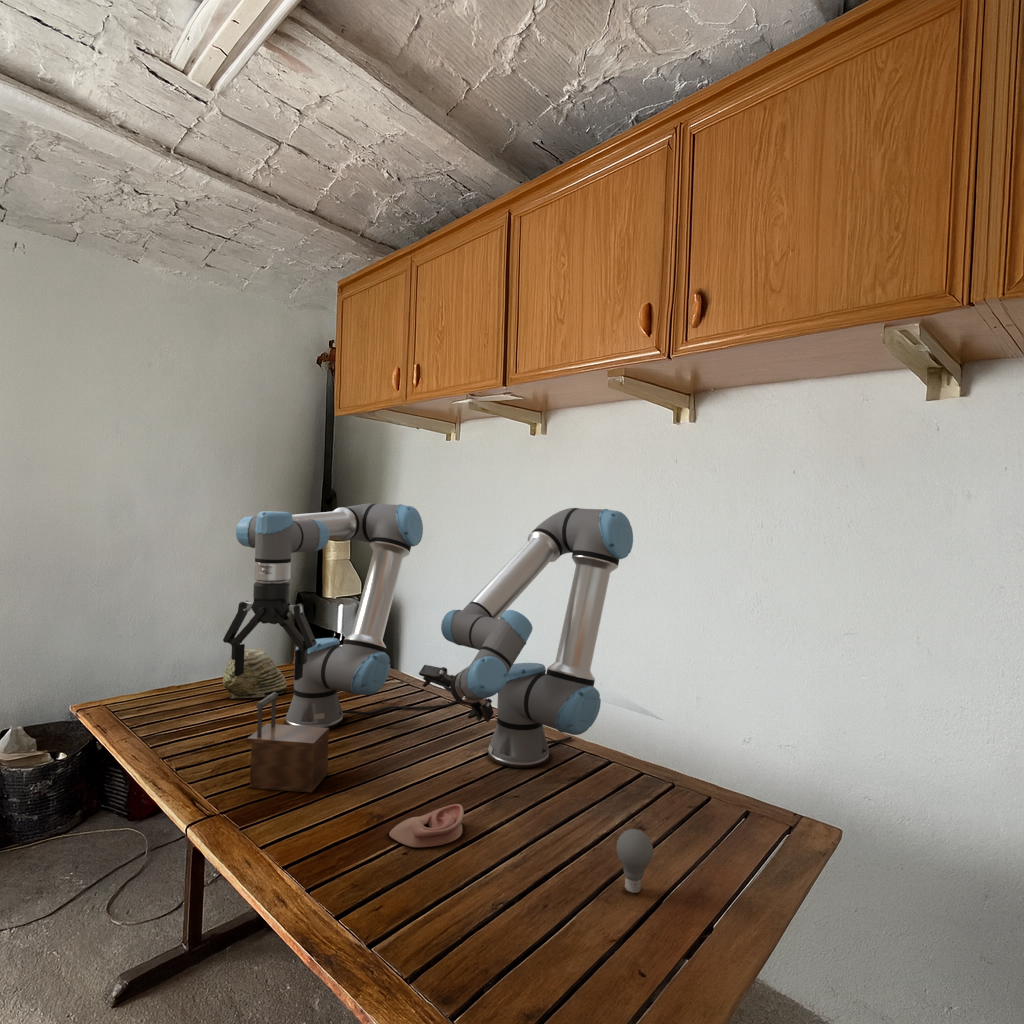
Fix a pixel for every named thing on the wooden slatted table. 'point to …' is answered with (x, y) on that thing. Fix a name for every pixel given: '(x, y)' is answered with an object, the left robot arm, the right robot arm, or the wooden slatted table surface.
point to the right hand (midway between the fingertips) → (448, 697)
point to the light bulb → (634, 857)
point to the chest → (288, 766)
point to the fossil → (254, 676)
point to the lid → (284, 730)
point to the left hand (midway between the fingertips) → (268, 676)
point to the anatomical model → (431, 828)
